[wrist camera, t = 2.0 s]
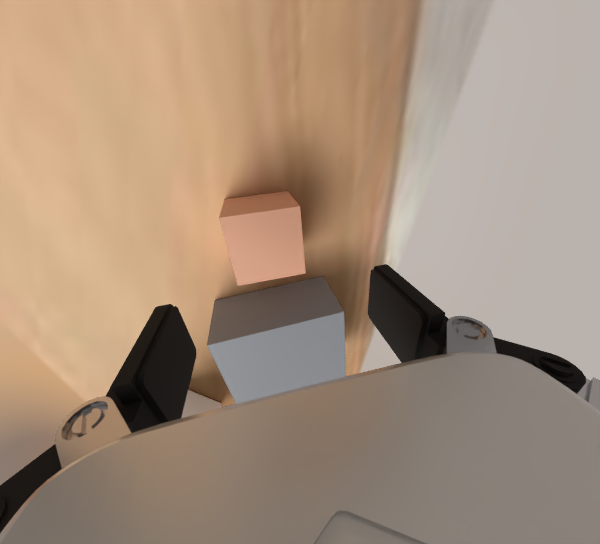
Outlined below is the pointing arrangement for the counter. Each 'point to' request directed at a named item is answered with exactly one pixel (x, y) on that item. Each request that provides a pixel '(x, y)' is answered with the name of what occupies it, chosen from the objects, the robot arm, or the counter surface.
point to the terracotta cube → (263, 236)
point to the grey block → (278, 339)
